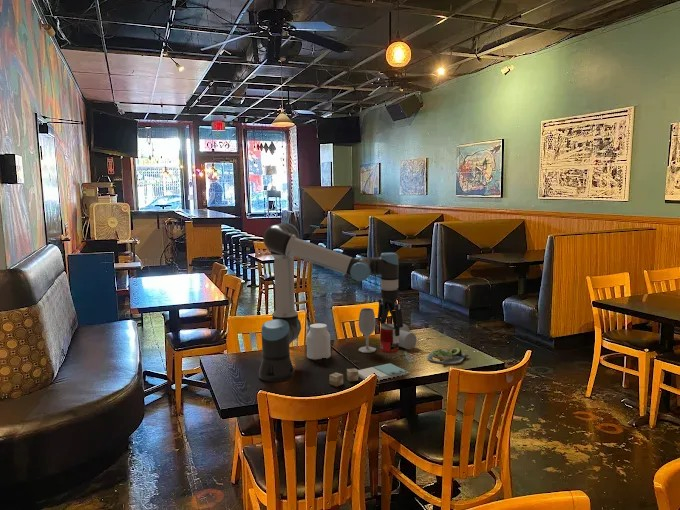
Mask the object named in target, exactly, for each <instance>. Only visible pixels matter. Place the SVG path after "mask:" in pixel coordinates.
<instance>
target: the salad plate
mask: <svg viewBox="0 0 680 510" xmlns="http://www.w3.org/2000/svg"><path fill="white" fill-rule="evenodd" d="M467 357H469V354H465V353H463V352H462V349H461V348H460V347H457V346H456V347H451V348H449V350H443V349H434V350H432V351H431V352H430V353H429V354H428V355H427V356H426V358H427V360H429V361H430V362H431V363H434V364H440V365H441V364H442V365H457V364H460V363H462V362H463V360H464V359H466V358H467ZM434 358H435V359H439V360H435V359H434Z"/></svg>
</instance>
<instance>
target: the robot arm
mask: <svg viewBox="0 0 680 510" xmlns="http://www.w3.org/2000/svg"><path fill="white" fill-rule="evenodd" d="M264 231H265V232H264V234H263V243H264V245H265V247H266V248H267V249H268V250H269V251H270V255H271V256H272V257H273V260H274V262H273V263H274V265H273V266H274V293H275V294H274V298H275V299H274V301H275V302H274V303H275V311H273V313H272V315H271V316H272V318H271V320H268V321H265V322H264V323H262V325H261V332H260V334H261V350H262V351H261V353H262V358H261V359H262V360H261V363H260V366H259V369H258V378H259V379H260V380H262V381H265V382H271V383H272V382H273V383H274V382H275V383H279V382H284V381H288V380H291V379H292V378H293V377H294V376H295V368H294V365H293V363H292V360H291V355H290V353H291V352H290V350H291V348H290V346H291V343H293V342H294V341H295V340H296V339H297V338H298V337H299V336H300V333H301V330H302V323H301V321H300V319H299V313H298V311H297V310H296V308H295V307H296V305H295V303H296V302H295V301H296V300H295V264H294V261H295V260H294V259H295V257H296V258H298V259H301V260H303V261H307V262H309V263H312V264H315V265H318V266H319V267H324V268H327V269H329V270H332V271H335V272H337V273H341V274H344V275H346V276H348V277H350V278H352V279H353V280H355V281H356V282H363V281H365V280H367V279H369V277H371V276H380V288H381V290H380V299H378V312H377V322H379V323H380V326H381V325H383V324H388V322H387V320H388V316H389V314H390V316H391V320H392V324H393V325H394V328H393V343H394V344H395V343H399V335H400V328H402V327H403V324H404V321H403V314H402V307H403V304H401V303H398V298H399V296H400V295H399V273H400V272H399V271H400V270H399V254H397V253H396V252H381V254H380V256H379V257H362V256H359V257H352V256H349V255H346V254H343V253H341V252H338V251H335V250H332V249H329V248H326V247H324V246H322V245H317V244H315V243H313V242H309V241H307V240H304V239H300V232H299V230H298V229H297V227H296V226H294V225H293V224H291V223H286V222H284V223H283V222H282V223H278V224H273V225H271V226H269V227H267V228H266V230H264ZM396 325H397V326H396Z"/></svg>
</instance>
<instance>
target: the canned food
mask: <svg viewBox="0 0 680 510" xmlns="http://www.w3.org/2000/svg"><path fill="white" fill-rule="evenodd" d="M396 326H397V325H396ZM393 328H394V325H393V323H387V324H383V325H381V324H380V326H379V332H380V333H379V334H380V335H379V337H380V340H379V341H380V342H379V343H380V344H379V345H380V351H381V352H382V353H384V354H396V353H397V352H398V351H399V346H398V343H395V344H394V343H393Z"/></svg>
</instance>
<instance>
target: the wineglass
mask: <svg viewBox="0 0 680 510" xmlns="http://www.w3.org/2000/svg"><path fill="white" fill-rule="evenodd" d="M375 327H376V314H375V311H374V308H370V307H364V308H361V309H360V312H359V316H358V328H359V332H360V333H361V334H362V335H363V336H364V337H365V346H361V347H359V348H358V350H357V351H358V352H359V353H360V352H361V353H362V354H371V353H375V352H376V350H377V348H376V347H373V346H370V345H369V342H370V341H369V336H371V334H373V333H374V331H375Z"/></svg>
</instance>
